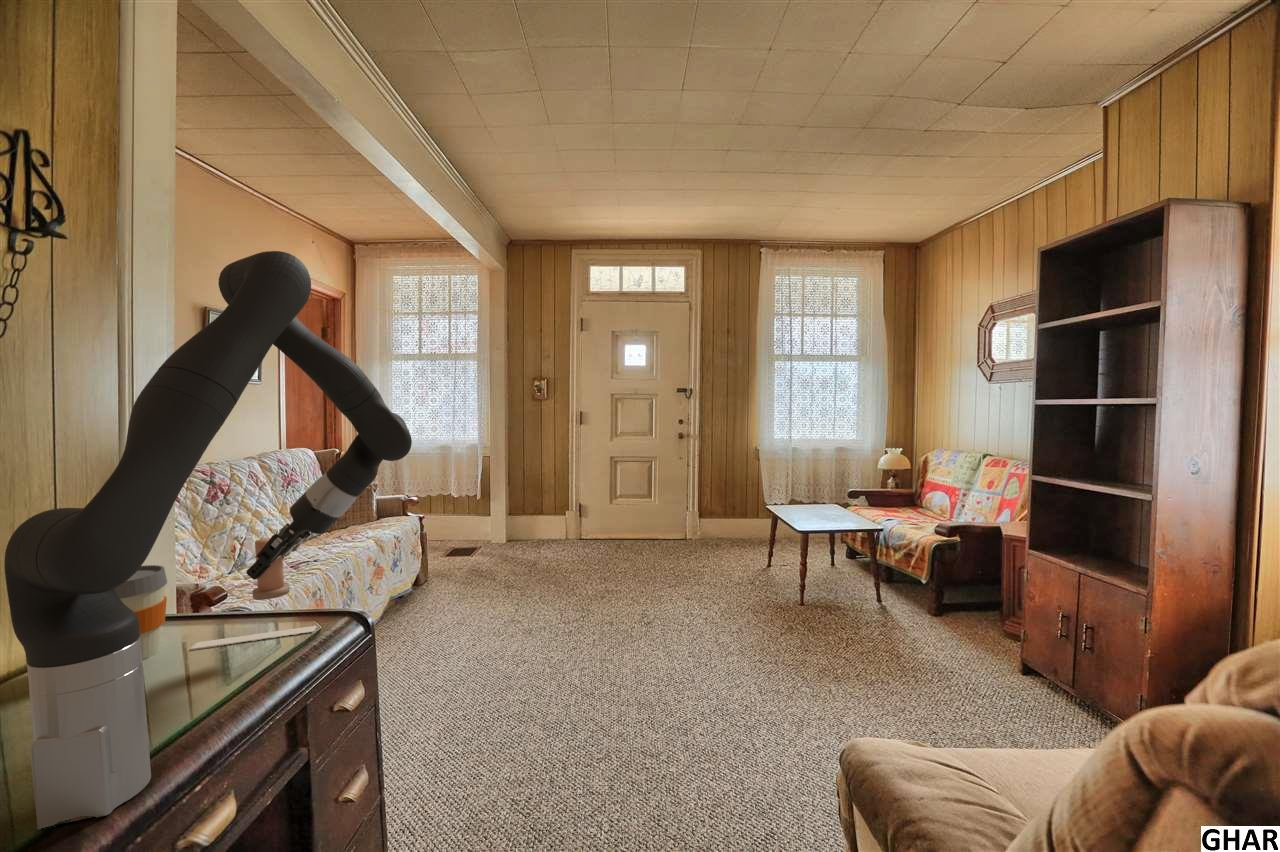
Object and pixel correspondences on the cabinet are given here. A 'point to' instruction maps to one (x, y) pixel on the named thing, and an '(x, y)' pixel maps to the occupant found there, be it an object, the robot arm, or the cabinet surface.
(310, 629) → the strip
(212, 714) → the cabinet surface
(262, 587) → the pin
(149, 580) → the reusable coffee cup
